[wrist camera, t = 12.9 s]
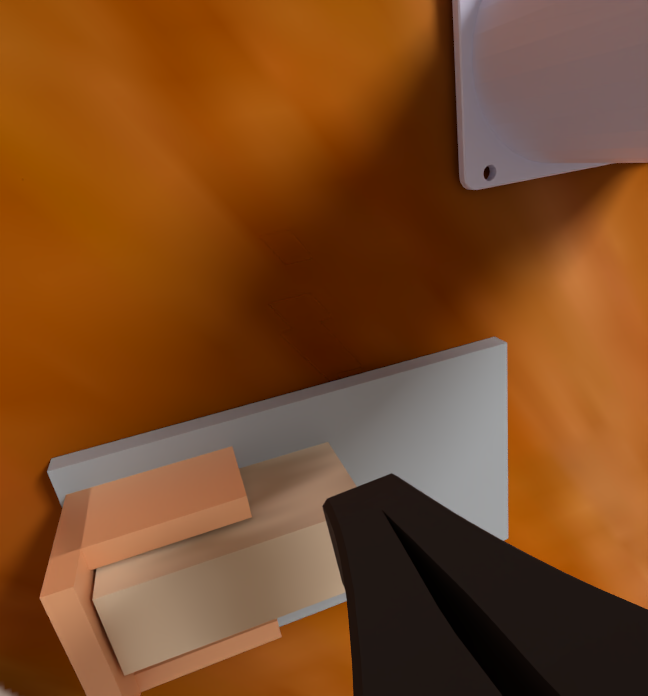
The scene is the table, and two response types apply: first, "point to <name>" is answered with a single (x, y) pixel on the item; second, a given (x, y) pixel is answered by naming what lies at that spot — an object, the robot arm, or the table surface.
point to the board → (353, 435)
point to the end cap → (130, 540)
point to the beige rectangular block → (229, 566)
